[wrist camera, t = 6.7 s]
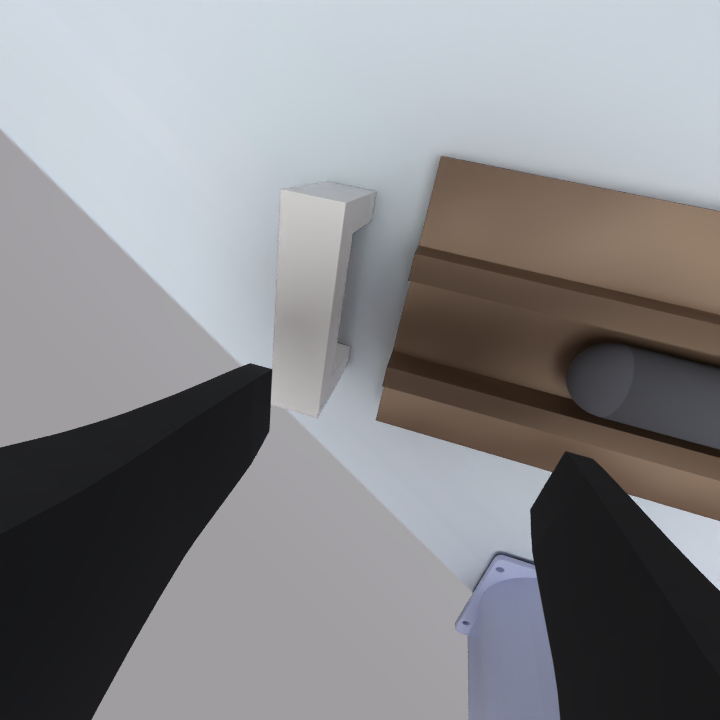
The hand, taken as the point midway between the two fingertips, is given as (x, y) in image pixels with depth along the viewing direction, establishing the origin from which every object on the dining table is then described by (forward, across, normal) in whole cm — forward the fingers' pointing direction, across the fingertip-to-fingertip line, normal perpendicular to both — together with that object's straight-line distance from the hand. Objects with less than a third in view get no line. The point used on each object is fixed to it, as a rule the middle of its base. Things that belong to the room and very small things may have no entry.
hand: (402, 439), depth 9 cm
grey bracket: (+10, +5, 0) cm, 11 cm away
